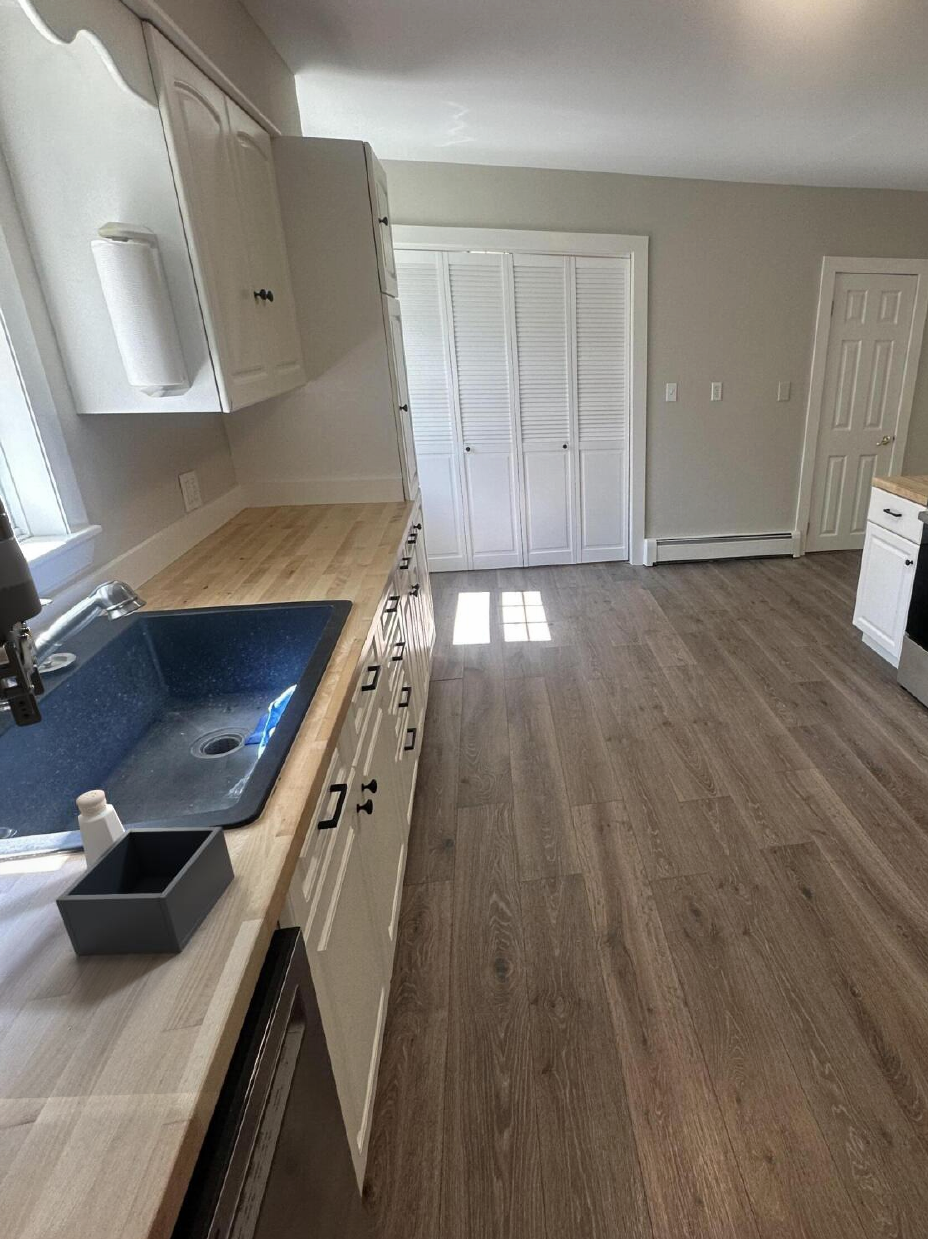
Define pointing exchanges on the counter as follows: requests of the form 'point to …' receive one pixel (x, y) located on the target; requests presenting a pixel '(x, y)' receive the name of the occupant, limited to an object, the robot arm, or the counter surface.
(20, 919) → the counter surface
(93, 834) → the pepper shaker
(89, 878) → the bin
